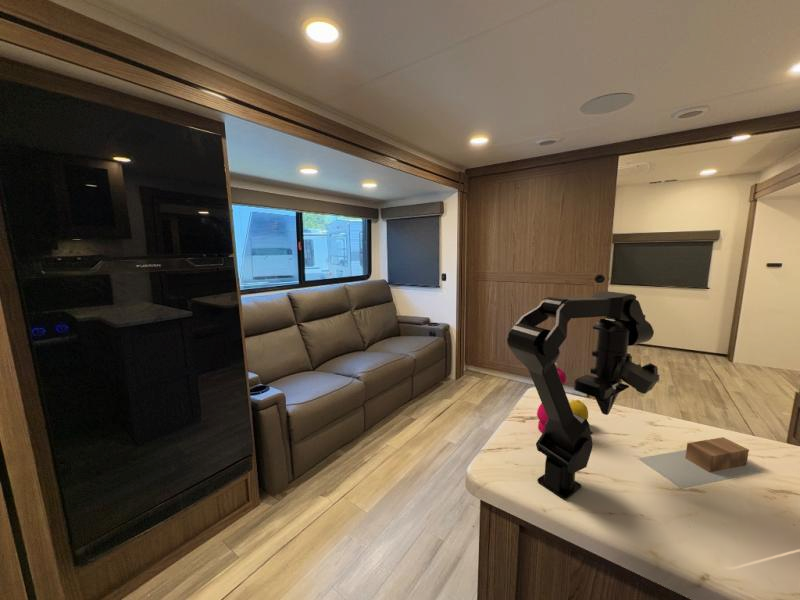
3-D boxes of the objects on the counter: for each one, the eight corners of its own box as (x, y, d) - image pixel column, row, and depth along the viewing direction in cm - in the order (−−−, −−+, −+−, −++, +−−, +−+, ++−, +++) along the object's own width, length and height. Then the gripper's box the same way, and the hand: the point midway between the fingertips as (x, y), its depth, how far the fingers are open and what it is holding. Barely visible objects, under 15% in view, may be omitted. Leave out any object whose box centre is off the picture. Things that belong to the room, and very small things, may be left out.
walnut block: (711, 456, 71) (749, 449, 73) (687, 443, 76) (723, 437, 78) (708, 472, 71) (746, 465, 74) (685, 458, 76) (720, 452, 78)
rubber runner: (680, 489, 67) (681, 488, 67) (637, 459, 77) (637, 458, 77) (762, 473, 71) (763, 471, 71) (711, 446, 81) (711, 445, 81)
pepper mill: (561, 441, 84) (566, 369, 81) (533, 431, 89) (537, 363, 85) (566, 428, 90) (572, 361, 87) (539, 420, 94) (543, 356, 91)
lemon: (567, 419, 95) (569, 394, 94) (588, 425, 92) (591, 399, 90) (563, 427, 91) (565, 401, 90) (585, 434, 87) (587, 406, 86)
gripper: (636, 368, 58) (627, 445, 61) (672, 350, 69) (664, 416, 71) (575, 352, 68) (569, 420, 70) (615, 338, 78) (609, 398, 80)
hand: (605, 413), depth 73 cm, fingers closed
